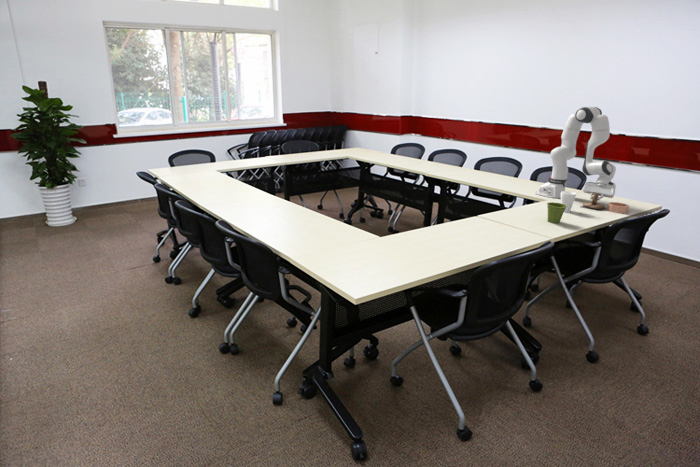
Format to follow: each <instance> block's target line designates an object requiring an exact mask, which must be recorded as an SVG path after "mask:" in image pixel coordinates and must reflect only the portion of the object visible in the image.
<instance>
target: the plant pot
mask: <svg viewBox="0 0 700 467" xmlns="http://www.w3.org/2000/svg"><path fill="white" fill-rule="evenodd" d="M546 205H547V222H548V223H549V222H550V223H552V224H559V223H560V222H561V219H562V217H563V214H564V213H565V212H564V211H565V209H566V207H567V205H564V204H561V203H559V202H554V201H553V202H547V203H546Z"/></svg>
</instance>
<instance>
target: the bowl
mask: <svg viewBox="0 0 700 467" xmlns="http://www.w3.org/2000/svg"><path fill="white" fill-rule="evenodd" d="M629 209H630V205H629V204H627V203H622V202H613V201H612V202H611V201H610V202H609V203H607V207H606V210H607V211H609V212H610V213H615V214H628V212H629Z"/></svg>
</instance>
